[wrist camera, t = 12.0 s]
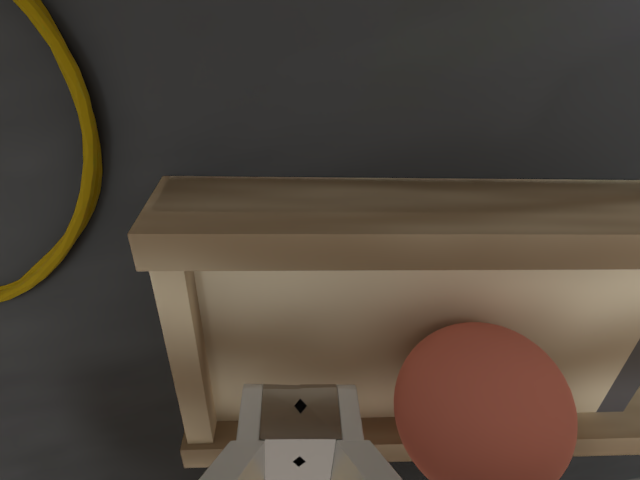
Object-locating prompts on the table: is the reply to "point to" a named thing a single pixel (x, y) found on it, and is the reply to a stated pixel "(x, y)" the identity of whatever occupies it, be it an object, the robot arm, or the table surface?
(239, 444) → the robot arm
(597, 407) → the tray
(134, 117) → the table surface
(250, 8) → the table surface
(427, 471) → the ball
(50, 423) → the table surface
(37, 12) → the extension cord
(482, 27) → the table surface
